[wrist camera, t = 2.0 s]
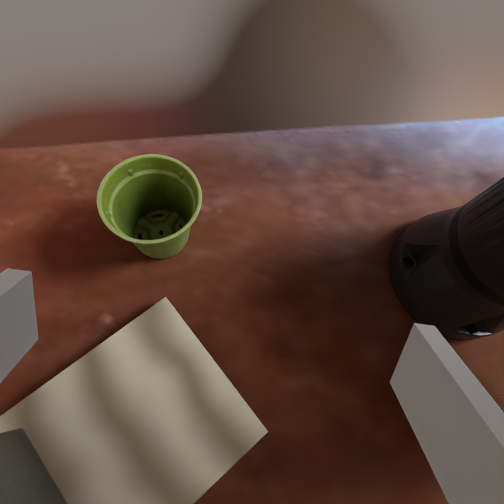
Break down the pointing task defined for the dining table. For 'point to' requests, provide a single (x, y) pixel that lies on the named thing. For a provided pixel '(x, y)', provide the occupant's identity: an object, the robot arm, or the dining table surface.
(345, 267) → the dining table surface
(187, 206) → the plant pot
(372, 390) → the dining table surface
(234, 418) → the shelf board
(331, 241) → the dining table surface
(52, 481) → the bookend
